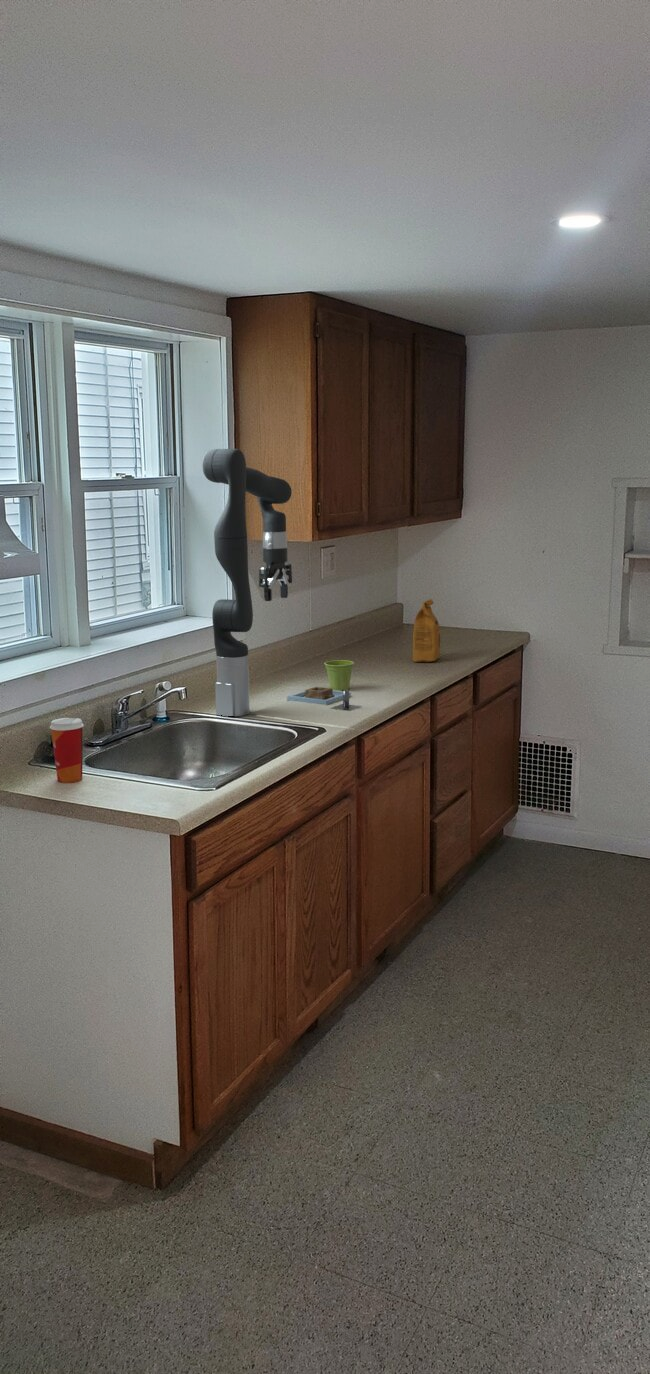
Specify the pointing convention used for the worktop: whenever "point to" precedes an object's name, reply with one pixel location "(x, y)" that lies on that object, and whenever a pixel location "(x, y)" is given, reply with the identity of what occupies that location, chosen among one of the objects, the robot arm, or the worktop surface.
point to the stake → (346, 703)
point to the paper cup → (67, 748)
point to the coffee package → (426, 635)
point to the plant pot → (339, 674)
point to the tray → (299, 698)
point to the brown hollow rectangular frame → (319, 693)
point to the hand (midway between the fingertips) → (276, 599)
